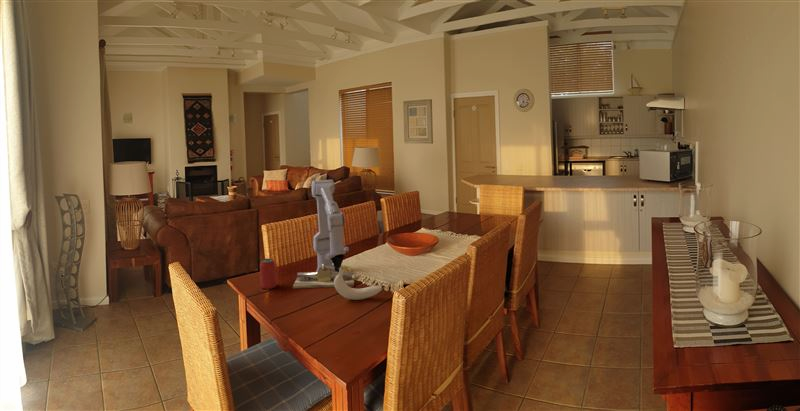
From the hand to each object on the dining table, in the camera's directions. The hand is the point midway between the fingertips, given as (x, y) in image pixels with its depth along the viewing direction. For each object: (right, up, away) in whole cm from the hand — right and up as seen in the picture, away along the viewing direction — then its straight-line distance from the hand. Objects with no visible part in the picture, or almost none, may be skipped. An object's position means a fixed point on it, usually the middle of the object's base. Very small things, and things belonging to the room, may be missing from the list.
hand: (337, 271), depth 207 cm
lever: (-2, +1, +3) cm, 3 cm away
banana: (+10, -10, -14) cm, 20 cm away
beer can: (-30, -7, +2) cm, 31 cm away
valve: (-7, -5, +6) cm, 10 cm away
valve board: (-7, -6, +7) cm, 11 cm away
